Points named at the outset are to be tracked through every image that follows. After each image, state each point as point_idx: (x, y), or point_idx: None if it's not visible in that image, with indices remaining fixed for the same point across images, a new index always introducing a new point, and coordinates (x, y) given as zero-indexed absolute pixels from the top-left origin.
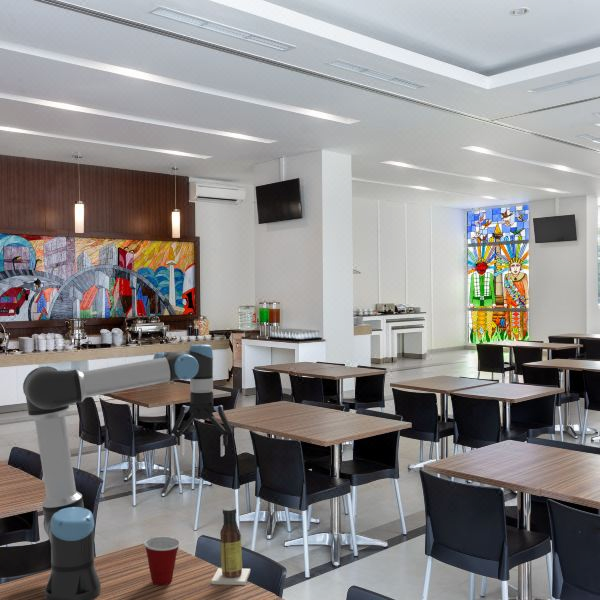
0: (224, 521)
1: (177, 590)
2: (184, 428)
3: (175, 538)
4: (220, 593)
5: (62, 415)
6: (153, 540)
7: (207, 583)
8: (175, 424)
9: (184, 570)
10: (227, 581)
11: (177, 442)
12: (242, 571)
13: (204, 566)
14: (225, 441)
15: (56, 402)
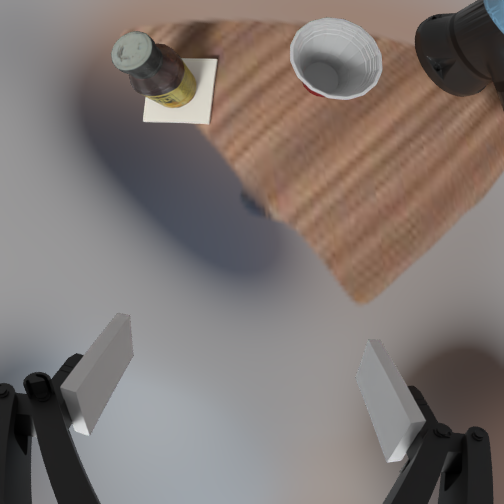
0: (157, 48)
1: (281, 37)
2: (412, 476)
3: (310, 87)
4: (196, 24)
5: None
6: (365, 87)
7: (226, 64)
8: (488, 483)
9: (284, 131)
10: (184, 58)
11: (421, 397)
12: (157, 105)
13: (243, 151)
14: (66, 370)
15: None
